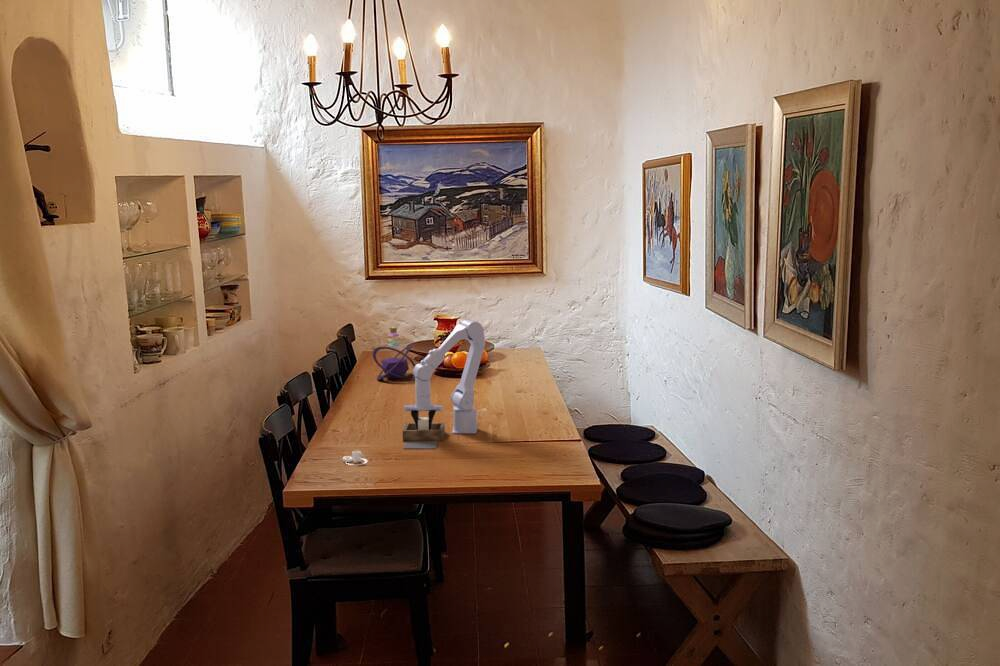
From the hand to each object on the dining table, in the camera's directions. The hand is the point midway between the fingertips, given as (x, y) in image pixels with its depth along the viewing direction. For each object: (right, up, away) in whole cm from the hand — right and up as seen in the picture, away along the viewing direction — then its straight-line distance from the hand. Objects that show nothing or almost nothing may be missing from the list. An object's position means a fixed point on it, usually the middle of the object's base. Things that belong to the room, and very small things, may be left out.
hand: (423, 429), depth 351 cm
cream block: (0, -1, 0) cm, 1 cm away
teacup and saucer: (-22, -9, -25) cm, 34 cm away
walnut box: (0, -3, +1) cm, 3 cm away
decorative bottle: (-22, +15, +96) cm, 100 cm away
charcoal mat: (0, -5, -10) cm, 11 cm away
